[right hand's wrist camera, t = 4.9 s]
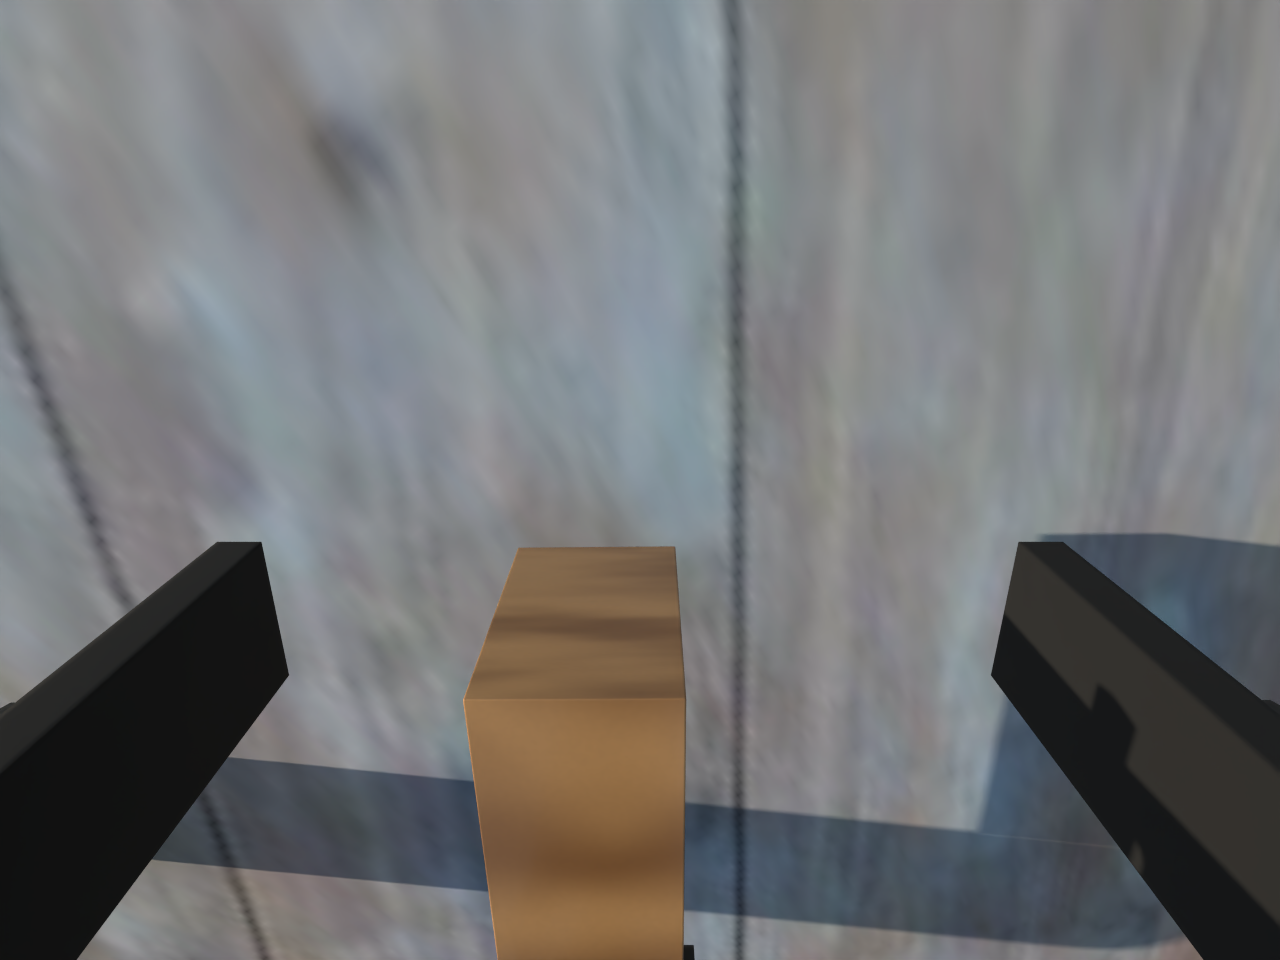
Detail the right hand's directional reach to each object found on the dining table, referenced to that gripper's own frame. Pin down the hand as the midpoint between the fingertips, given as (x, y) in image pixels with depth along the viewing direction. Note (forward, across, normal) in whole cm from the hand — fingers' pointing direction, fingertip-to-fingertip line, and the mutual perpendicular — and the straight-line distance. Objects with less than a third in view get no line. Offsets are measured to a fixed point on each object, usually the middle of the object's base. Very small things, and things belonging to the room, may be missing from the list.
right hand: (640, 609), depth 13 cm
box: (+15, -2, -16) cm, 22 cm away
